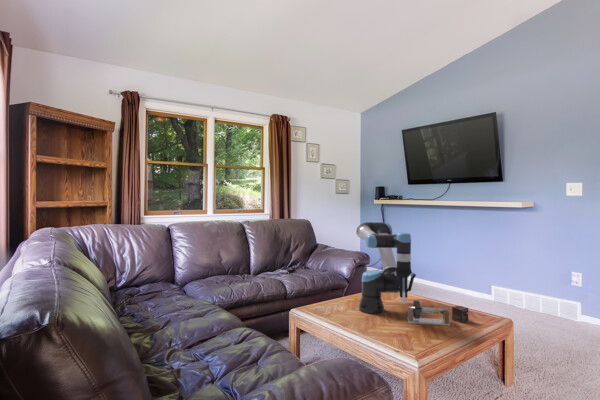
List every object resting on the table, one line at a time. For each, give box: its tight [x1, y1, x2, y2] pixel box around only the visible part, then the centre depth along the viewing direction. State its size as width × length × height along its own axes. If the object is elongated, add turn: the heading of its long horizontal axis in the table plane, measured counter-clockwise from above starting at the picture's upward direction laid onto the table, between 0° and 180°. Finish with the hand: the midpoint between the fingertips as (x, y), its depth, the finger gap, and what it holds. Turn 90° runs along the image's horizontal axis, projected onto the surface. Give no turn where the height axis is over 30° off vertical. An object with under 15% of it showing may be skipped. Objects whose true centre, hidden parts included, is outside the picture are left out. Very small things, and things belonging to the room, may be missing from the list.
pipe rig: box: [406, 305, 451, 327], centre depth 182 cm, size 21×7×8 cm, turn 79°
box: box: [451, 305, 469, 324], centre depth 184 cm, size 6×6×7 cm
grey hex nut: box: [412, 299, 422, 319], centre depth 183 cm, size 2×9×9 cm, turn 169°
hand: (403, 303), depth 184 cm, fingers closed
